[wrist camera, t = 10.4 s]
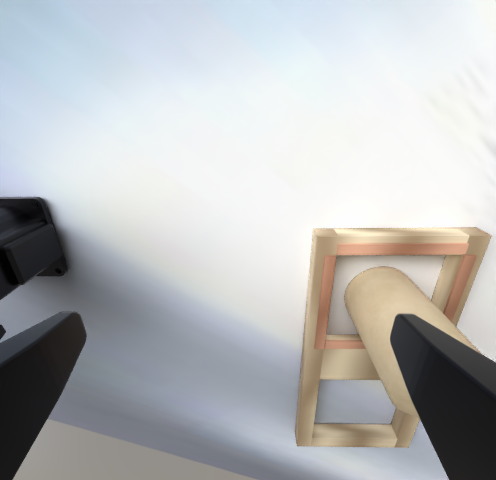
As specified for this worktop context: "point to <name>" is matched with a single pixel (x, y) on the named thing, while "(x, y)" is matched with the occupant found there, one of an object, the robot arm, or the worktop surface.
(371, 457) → the worktop surface
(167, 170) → the worktop surface
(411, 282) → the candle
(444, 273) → the rail frame
